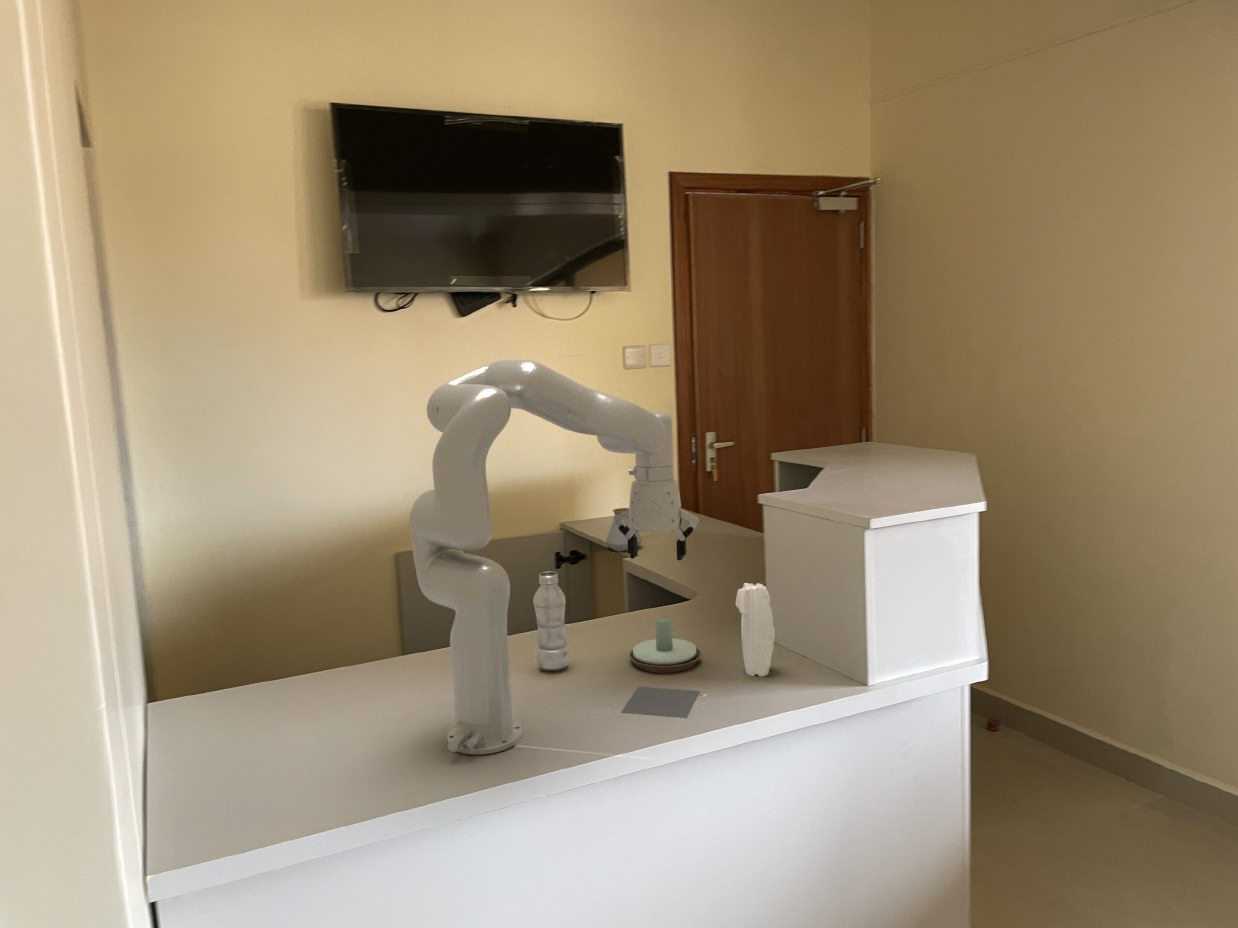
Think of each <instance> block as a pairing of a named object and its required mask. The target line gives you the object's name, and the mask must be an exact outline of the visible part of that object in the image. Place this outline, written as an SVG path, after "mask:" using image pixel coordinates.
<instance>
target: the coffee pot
mask: <svg viewBox="0 0 1238 928" xmlns="http://www.w3.org/2000/svg"><path fill="white" fill-rule="evenodd" d="M628 509H629V507H619V508H615V509H613V510H612V512H613V513H614V517H615V516H617V515H619V514H621V513H623V512H625V511H627V510H628ZM623 521H624V524H625V525H626V526H627V527H628V528H629V529H631V528H630V526H629V516H628V517H626V518H624V519H623ZM639 532H640V531H637V532H636V534H635V536H636V537H637V546H638V547H639V546H640V545H641V543H642V537H641V535H640V533H639ZM606 544H607V546H608V547H609V548H610V549H611V550H612V551H614V552H621V553H622V550H628V539H626V537H625V535H624V534H623V533H622V532H621V531H620V530H619V527H618V526H617V524H616V522H615V520H614V519H613V521H612V524H611V527H610V530H609V532H608V535H607V536H606Z"/></svg>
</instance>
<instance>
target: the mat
mask: <svg viewBox="0 0 1238 928" xmlns="http://www.w3.org/2000/svg"><path fill="white" fill-rule="evenodd" d="M700 693H701V691H700V690H690V689H677V688H666V687H665V688H661V687H649V686H638V687H636V688H635V691H634V692H633V694H632V695H631V696H630V698H629V699H628V701H627V702H626V704H625V705H624V707H623V708H622V710H621V711H620V713H622V714H630V715H631V714H634V715H644V716H645V715H646V716H656V717H667V718H669V717H670V718H681V719H687V718H688V716H689V714H690V712H691V710H692V708H693V706H694V704H695V702H696V700H697V698H698V696H699V694H700Z"/></svg>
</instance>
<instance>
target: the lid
mask: <svg viewBox="0 0 1238 928" xmlns="http://www.w3.org/2000/svg"><path fill="white" fill-rule="evenodd" d="M654 627H655V629H654V630H655V638H653V639H647V640H644V641H642V642H639V643H637V644H635V645H634V646H633V649H632V650H633V656H634V658H635V659H637V662H639V663H642V664H646V665H653V666H673V665H680V664H684V663H685V662H686V663H687V662H688V661H689V662H690V661H691V659H693V658H694V657H695V656H696V648H697V646H696V645H695V644H694V643H693V642H691V641H688V640H685V639H680V638H673V621H672V619H671V618H666V617H662V618H656V619H655V620H654Z"/></svg>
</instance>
